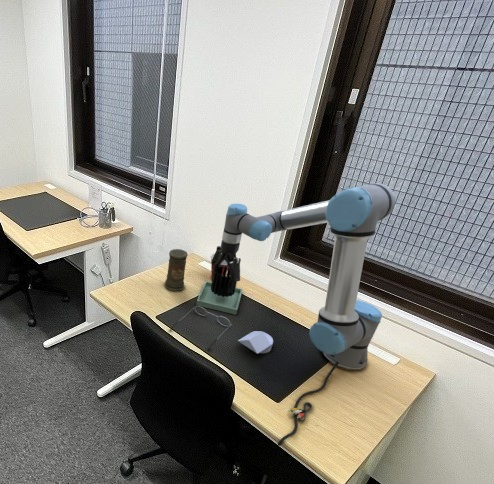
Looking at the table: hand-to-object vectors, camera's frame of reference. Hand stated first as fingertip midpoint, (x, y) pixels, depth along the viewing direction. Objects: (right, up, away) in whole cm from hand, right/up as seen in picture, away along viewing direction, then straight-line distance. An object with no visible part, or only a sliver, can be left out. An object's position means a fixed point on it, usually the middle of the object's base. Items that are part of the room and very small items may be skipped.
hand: (221, 285), depth 170 cm
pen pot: (+6, +3, +1) cm, 7 cm away
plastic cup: (+3, +3, +19) cm, 20 cm away
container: (-20, 0, +12) cm, 23 cm away
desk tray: (0, -6, +4) cm, 7 cm away
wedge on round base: (+7, -24, -24) cm, 35 cm away
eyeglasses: (-13, -18, -16) cm, 27 cm away
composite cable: (+13, -41, -51) cm, 66 cm away
